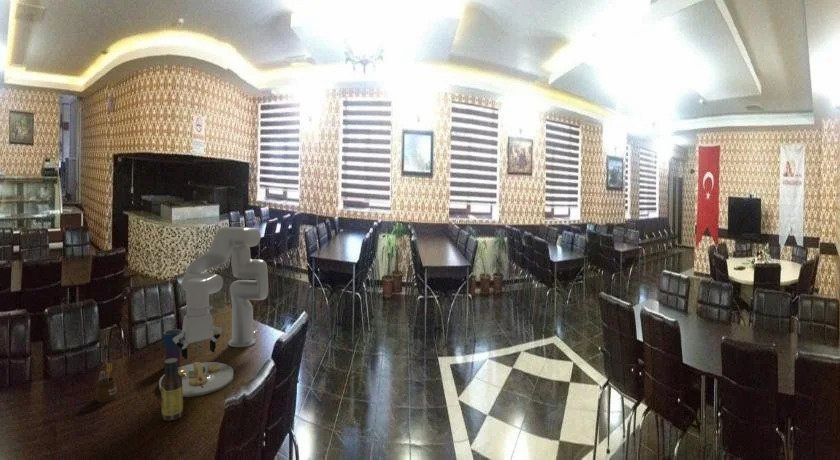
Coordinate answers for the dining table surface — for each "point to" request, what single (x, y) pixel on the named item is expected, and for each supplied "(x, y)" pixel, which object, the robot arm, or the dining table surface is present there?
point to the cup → (172, 344)
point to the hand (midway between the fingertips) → (198, 354)
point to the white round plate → (216, 374)
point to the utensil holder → (106, 387)
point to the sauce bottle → (171, 391)
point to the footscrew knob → (198, 376)
